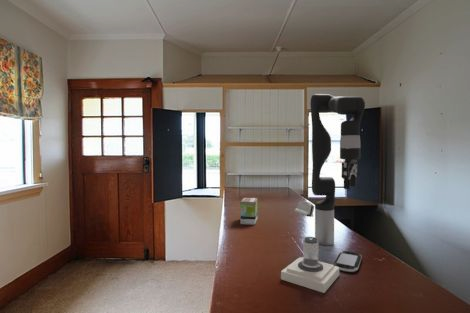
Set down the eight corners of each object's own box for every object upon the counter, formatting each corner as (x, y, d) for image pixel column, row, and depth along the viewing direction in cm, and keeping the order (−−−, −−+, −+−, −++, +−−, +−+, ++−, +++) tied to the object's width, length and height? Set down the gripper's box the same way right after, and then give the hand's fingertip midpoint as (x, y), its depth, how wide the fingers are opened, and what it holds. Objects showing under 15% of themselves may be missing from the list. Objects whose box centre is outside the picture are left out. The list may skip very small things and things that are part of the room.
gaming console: (356, 276, 103) (356, 269, 103) (331, 270, 108) (332, 264, 108) (362, 258, 120) (362, 252, 119) (341, 254, 124) (341, 248, 124)
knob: (306, 260, 106) (306, 234, 106) (322, 264, 102) (322, 238, 102) (299, 266, 101) (299, 239, 101) (315, 270, 97) (315, 242, 97)
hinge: (294, 211, 209) (297, 198, 210) (299, 212, 210) (302, 200, 211) (306, 216, 193) (310, 202, 194) (311, 217, 195) (316, 204, 196)
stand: (299, 264, 113) (299, 253, 113) (339, 275, 103) (339, 263, 103) (281, 279, 100) (280, 267, 100) (324, 293, 90) (324, 279, 90)
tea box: (255, 225, 172) (255, 201, 172) (240, 224, 174) (239, 201, 173) (257, 218, 187) (257, 197, 187) (243, 218, 189) (242, 197, 188)
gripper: (345, 147, 117) (345, 185, 117) (334, 147, 106) (334, 189, 106) (364, 147, 112) (364, 186, 113) (355, 147, 101) (355, 190, 101)
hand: (349, 187), depth 109 cm, fingers open, 8 cm apart
